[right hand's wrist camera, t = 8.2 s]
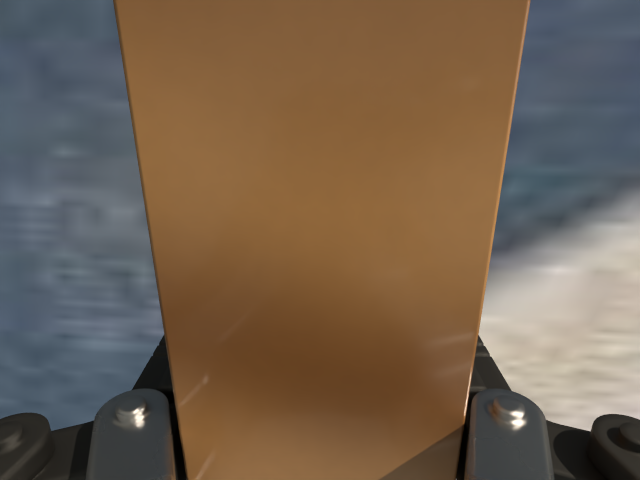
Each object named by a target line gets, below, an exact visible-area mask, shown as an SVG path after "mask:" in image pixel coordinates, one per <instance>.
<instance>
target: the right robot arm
mask: <svg viewBox="0 0 640 480" xmlns="http://www.w3.org/2000/svg"><path fill="white" fill-rule="evenodd" d="M186 479H187V477H186V471H185V464H184V458H183V451H182V445H181V438H180V432H179V425H178V419H177V412H176V406H175V399H174V393H173V386H172V380H171V373H170V367H169V360H168V354H167V347H166V341H165V334H164V336H163V338H162V339H161V341H160V343H159V346H157V348H156V350H155V351H154V353H153V356H151V358H150V360H149V362H148V363H147V365H146V367H145V368H144V370H143V372H142V374H141V375H140V377H139V379H138V380H137V382H136V384H135V385H134V387H133V389H132V390H131V391H127V392H124V393H122V394H120V395H117V396H115V397H114V398H112V399H111V400H109V401H108V402H106V403H105V404H104V405H103V406H102V407H101V408H100V409H99V411H98V412H97V414H96V416H95V419H94V421H91V422H88V423H84V424H80V425H76V426H71V427H67V428H63V429H58V430H54V431H51V429H50V425H49V422H48V420H47V419H46V418H45V417H44V416H42V415H40V414H37V413H20V414H15V415H11V416H8V417H5V418H2V419H0V480H186ZM456 479H457V480H640V420H639V419H636V418H633V417H629V416H625V415H619V414H607V415H603V416H600V417H598V418H597V419H596V420H595V421H594V423H593V425H592V429H591V432H590V431H586V430H582V429H577V428H573V427H569V426H564V425H560V424H556V423H553V422H550V421H548V420H546V419H545V416H544V414H543V412H542V411H541V409H540V408H539V407H538V406H537V405H536V404H535V403H534V402H532V401H531V400H530V399H528V398H526V397H525V396H523V395H520V394H518V393H516V392H513V391H511V389H510V387H509V386H508V384H507V382H506V381H505V379H504V377H503V376H502V374H501V372H500V371H499V369H498V367H497V366H496V364H495V362H494V360H493V359H492V357H490V354H489V352H488V350H487V349H486V347H485V346H484V345H483V342H482V340H481V339H480V337H479V335H478V339H477V346H476V352H475V358H474V365H473V371H472V378H471V384H470V391H469V397H468V403H467V410H466V416H465V423H464V429H463V436H462V442H461V448H460V455H459V461H458V468H457V474H456Z"/></svg>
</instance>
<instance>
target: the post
mask: <svg viewBox="0 0 640 480" xmlns="http://www.w3.org/2000/svg"><path fill="white" fill-rule="evenodd" d="M113 2H114V9H115V15H116V22H117V28H118V35H119V41H120V48H121V54H122V61H123V67H124V74H125V80H126V87H127V93H128V100H129V106H130V113H131V119H132V126H133V132H134V139H135V145H136V152H137V158H138V165H139V172H140V178H141V185H142V191H143V198H144V204H145V211H146V217H147V224H148V230H149V237H150V243H151V250H152V256H153V263H154V269H155V276H156V282H157V289H158V295H159V302H160V308H161V315H162V321H163V328H164V334H165V341H166V347H167V354H168V360H169V367H170V373H171V380H172V386H173V393H174V399H175V406H176V412H177V419H178V425H179V432H180V438H181V445H182V451H183V458H184V464H185V471H186V477H187V480H456V474H457V468H458V461H459V455H460V448H461V442H462V436H463V429H464V423H465V416H466V410H467V403H468V397H469V391H470V384H471V378H472V371H473V365H474V358H475V352H476V346H477V339H478V333H479V326H480V320H481V314H482V307H483V301H484V294H485V288H486V281H487V275H488V269H489V262H490V256H491V249H492V243H493V237H494V230H495V224H496V217H497V211H498V204H499V198H500V192H501V185H502V179H503V172H504V166H505V159H506V153H507V147H508V140H509V134H510V127H511V121H512V115H513V108H514V102H515V95H516V89H517V82H518V76H519V70H520V63H521V57H522V50H523V44H524V38H525V31H526V25H527V18H528V12H529V5H530V0H113Z"/></svg>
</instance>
